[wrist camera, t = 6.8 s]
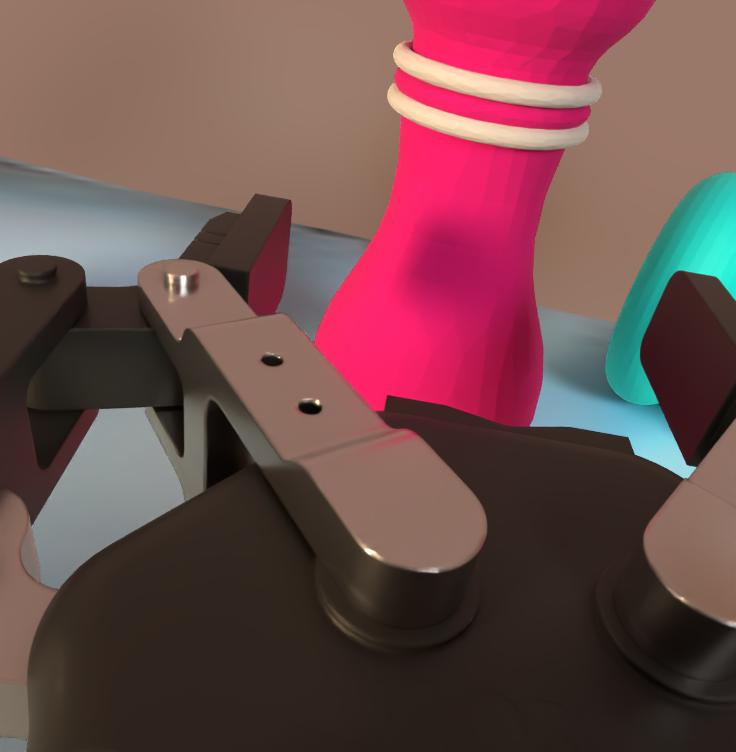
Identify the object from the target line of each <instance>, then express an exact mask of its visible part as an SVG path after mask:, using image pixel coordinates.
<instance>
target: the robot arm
mask: <svg viewBox="0 0 736 752" xmlns="http://www.w3.org/2000/svg"><path fill="white" fill-rule="evenodd" d="M291 214H292V203H291V200H288V199H282V198H277V197H271V196H266V195H260V194H255V195H254V196H253V198H252V199H251V201H250V202H249V203H248V205H247V207H246V208H245V209H244V211H243V212H242V214H235V213H230V212H226V213H224V214H221V215H219V216H217V217H214V218H212V219H210V220H209V221H208V222H207V223H206V225H205V226H204V227H203V229H202V230H201V232H199V234H198V235H197V236H196V237H195V239H194V241H192V242H191V244H190V245H189V246H188V248H187V249H186V250H185V251H184V253H183V254H182V255H181V256H180V258H179V259H170V260H162V261H158V262H154V263H152V264H149V265H147V266H145V267H144V268H143V269H141V271H140V272H139V274H138V286H130V287H86V278H85V271H84V269H83V267H82V266H80V265H79V264H78V263H76V262H74V261H72V260H70V259H66V258H63V257H58V256H50V255H31V256H23V257H18V258H13V259H10V260H7V261H4V262H2V263H0V737H8V738H17V739H27V740H28V743H27V752H736V300H735V299H734V298H733V297H732V295H731V294H730V293H729V291H728V290H727V289H726V288H725V286H724V285H723V284H722V282H721V281H720V280H719V279H718V278H717V277H715V276H710V275H705V274H699V273H693V272H688V271H682V270H679V271H676V272H675V273H674V274H673V275H672V276H671V278H670V279H669V281H668V283H667V285H666V287H665V290H664V292H663V294H662V296H661V298H660V301H659V303H658V305H657V307H656V309H655V312H654V314H653V316H652V318H651V320H650V323H649V325H648V327H647V329H646V331H645V334H644V336H643V339H642V342H641V347H640V362H641V365H642V367H643V369H644V372H645V374H646V376H647V378H648V380H649V383H650V385H651V387H652V389H653V391H654V394H655V396H656V398H657V400H658V402H659V405H660V407H661V409H662V411H663V414H664V416H665V418H666V420H667V422H668V425H669V427H670V429H671V431H672V433H673V436H674V438H675V440H676V442H677V444H678V447H679V449H680V451H681V453H682V455H683V458H684V460H685V462H686V464H687V465H689V466H694V467H697V468H696V469H695V470H694V472H693V473H692V474H691V476H690V477H689V478H688V479H687V478H685V479H683V478H682V477H680V476H679V475H677V474H675V473H673V472H672V471H670V470H668V469H666V468H664V467H662V466H660V465H658V464H656V463H654V462H652V461H649V460H647V459H645V458H642V457H640V456H637V455H635V454H634V451H633V449H632V446H631V443H630V440H629V438H628V437H623V436H618V435H612V434H606V433H601V432H595V431H589V430H584V429H578V428H572V427H514V426H507V425H503V424H500V423H497V422H494V421H491V420H488V419H485V418H483V417H480V416H477V415H474V414H471V413H468V412H465V411H462V410H459V409H456V408H453V407H450V406H447V405H442V404H436V403H431V402H425V401H419V400H414V399H408V398H402V397H396V396H391V395H387V397H386V402H385V407H384V411H374V410H373V409H372V408H371V406H370V405H369V404H368V403H367V402H366V401H365V400H364V399H363V398H362V396H361V395H360V394H359V393H358V392H357V391H356V390H355V389H354V388H353V387H352V385H351V384H350V383H349V382H348V381H347V380H346V379H345V378H344V377H343V375H342V374H341V373H340V372H339V371H338V370H337V369H336V368H335V367H334V366H333V364H332V363H331V362H330V361H329V360H328V359H327V358H326V357H325V356H324V354H323V353H322V352H321V351H320V350H319V349H318V348H317V347H316V346H315V345H314V343H313V342H312V341H311V340H310V339H309V338H308V337H307V336H306V335H305V333H304V332H303V331H302V330H301V329H300V328H299V327H298V326H297V325H296V324H295V322H294V321H293V320H292V319H291V318H290V317H289V316H288V315H286V314H285V313H276V314H275V312H276V309H277V307H278V305H279V302H280V300H281V297H282V294H283V290H284V285H285V279H286V272H287V261H288V249H289V238H290V226H291ZM135 407H145V413H146V416H147V418H148V420H149V422H150V424H151V426H152V428H153V429H154V431H155V433H156V435H157V437H158V439H159V441H160V443H161V445H162V447H163V449H164V451H165V453H166V455H167V456H168V458H169V460H170V462H171V464H172V466H173V468H174V470H175V472H176V474H177V476H178V478H179V480H180V483H181V486H182V490H183V494H184V499H185V502H184V503H182V504H181V505H179V506H177V507H175V508H174V509H172V510H170V511H168V512H167V513H165V514H163V515H161V516H160V517H158V518H156V519H154V520H153V521H151V522H149V523H147V524H146V525H144V526H142V527H140V528H139V529H137V530H135V531H133V532H132V533H130V534H128V535H126V536H125V537H123V538H121V539H119V540H118V541H116V542H114V543H112V544H111V545H109V546H108V547H106V548H104V549H103V550H101V551H100V552H98V553H97V554H95V555H94V556H92V557H91V558H90V559H89V560H87V561H86V562H85V563H84V564H83V565H81V566H80V567H79V568H78V569H77V570H76V571H75V572H74V573H73V574H72V575H71V576H70V577H69V578H68V579H67V581H66V582H65V583H64V584H63V585H62V586H61V588H60V589H59V590H58V589H54V588H51V587H48V586H45V585H43V584H42V583H40V577H41V573H40V566H39V561H38V556H37V551H36V546H35V541H34V537H33V532H32V527H31V526H32V525H33V523H34V521H35V520H36V518H37V516H38V514H39V513H40V511H41V509H42V508H43V506H44V504H45V503H46V501H47V499H48V498H49V496H50V494H51V493H52V491H53V489H54V487H55V486H56V484H57V482H58V481H59V479H60V477H61V476H62V474H63V472H64V471H65V469H66V467H67V466H68V464H69V462H70V461H71V459H72V457H73V455H74V454H75V452H76V450H77V449H78V447H79V445H80V444H81V442H82V440H83V439H84V437H85V435H86V434H87V432H88V430H89V428H90V427H91V425H92V423H93V422H94V420H95V418H96V417H97V415H98V412H99V409H110V408H135Z"/></svg>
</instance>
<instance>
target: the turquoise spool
mask: <svg viewBox="0 0 736 752" xmlns="http://www.w3.org/2000/svg"><path fill="white" fill-rule="evenodd" d="M679 270H682V271H688V272H693V273H699V274H705V275H710V276H715V277H717V278H718V279H719V280H720V281H721V282H722V284H723V285H724V286H725V288H726V289H727V290H728V291H729V293H730V294H731V295H732V297H733V298H734V299H735V300H736V172H725V173H719V174H715V175H713V176H711V177H708V178H706V179H704V180H702V181H701V182H699V183H698V184H697V185H696V186H695V187H693V188H692V189H691V190H690V191H689V192H688V193H687V194H686V195H685V197H684V198H683V199H682V200H681V201H680V203H679V204H678V206H677V207H676V209H675V210H674V211H673V213H672V214H671V216H670V217H669V219H668V221H667V222H666V224H665V225H664V227H663V229H662V230H661V232H660V234H659V236H658V237H657V239H656V241H655V242H654V244H653V246H652V248H651V250H650V252H649V253H648V255H647V258H646V259H645V261H644V263H643V265H642V267H641V269H640V271H639V273H638V275H637V277H636V279H635V281H634V283H633V285H632V288H631V290H630V292H629V294H628V296H627V299H626V301H625V303H624V305H623V308H622V310H621V313H620V315H619V317H618V320H617V322H616V325H615V328H614V330H613V334H612V337H611V340H610V343H609V346H608V350H607V355H606V363H605V371H606V376H607V380H608V382H609V384H610V386H611V388H612V389H613V390H614V392H615V393H616V394H617V395H619V396H620V397H621V398H622V399H624V400H626V401H628V402H630V403H634V404H638V405H653V404H659V402H658V400H657V398H656V396H655V394H654V391H653V389H652V387H651V385H650V383H649V380H648V378H647V376H646V374H645V372H644V369H643V367H642V365H641V362H640V347H641V342H642V339H643V336H644V334H645V331H646V329H647V327H648V325H649V323H650V320H651V318H652V316H653V314H654V312H655V309H656V307H657V305H658V303H659V301H660V298H661V296H662V294H663V292H664V290H665V287H666V285H667V283H668V281H669V279H670V278H671V276H672V275H673V274H674V273H675V272H676V271H679Z"/></svg>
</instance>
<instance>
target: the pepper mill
mask: <svg viewBox="0 0 736 752" xmlns="http://www.w3.org/2000/svg"><path fill="white" fill-rule="evenodd" d="M403 1H404V3H405V5H406V7H407V10H408V12H409V14H410V17H411V20H412V23H413V33H414V39H413V40H406V41H404V42H402V43H400V44H399V45H398V46H397V47H396V48H395V51H394V54H393V56H394V60H395V62H396V64H397V65H398V66H399V68H398V69H397V71H396V73H395V83H393V84H392V85H391V86H390V88H389V90H388V95H387V98H388V101H389V104H390V105H391V106H392V107H393V108H394V110H396V111H397V112H398V113H400V114H401V128H400V144H399V160H398V165H397V170H396V175H395V180H394V184H393V189H392V193H391V198H390V202H389V204H388V207H387V209H386V212H385V214H384V217H383V219H382V222H381V224H380V226H379V229H378V231H377V233H376V234H375V236H374V238H373V239H372V241H371V242H370V244H369V246H368V247H367V249H366V250H365V252H364V254H363V255H362V257H361V258H360V259H359V261H358V262H357V264H356V265H355V266H354V268H353V269H352V271H351V272H350V274H349V275H348V276H347V278H346V279H345V281H344V282H343V284H342V285H341V287H340V288H339V290H338V291H337V292H336V294H335V295H334V297H333V298H332V300H331V302H330V304H329V306H328V309H327V311H326V313H325V315H324V317H323V320H322V322H321V324H320V326H319V328H318V331H317V333H316V338H315V342H314V345H315V346H316V347H317V348H318V349H319V350H320V351H321V352H322V353H323V354H324V356H325V357H326V358H327V359H328V360H329V361H330V362H331V363H332V364H333V366H334V367H335V368H336V369H337V370H338V371H339V372H340V373H341V374H342V375H343V377H344V378H345V379H346V380H347V381H348V382H349V383H350V384H351V385H352V387H353V388H354V389H355V390H356V391H357V392H358V393H359V394H360V395H361V396H362V398H363V399H364V400H365V401H366V402H367V403H368V404H369V405H370V406H371V408H372V409H373V410H374V411H384V407H385V402H386V397H387V395H391V396H396V397H402V398H408V399H414V400H419V401H425V402H431V403H436V404H442V405H447V406H450V407H453V408H456V409H459V410H462V411H465V412H468V413H471V414H474V415H477V416H480V417H483V418H485V419H488V420H491V421H494V422H497V423H500V424H503V425H507V426H514V427H529V426H530V424H531V422H532V420H533V418H534V414H535V410H536V406H537V402H538V398H539V395H540V391H541V386H542V381H543V342H542V336H541V330H540V324H539V318H538V312H537V307H536V301H535V294H534V284H533V262H534V244H535V236H536V232H537V228H538V224H539V220H540V216H541V212H542V208H543V204H544V200H545V196H546V193H547V191H548V188H549V186H550V184H551V181H552V179H553V176H554V174H555V171H556V169H557V167H558V164H559V162H560V159H561V157H562V155H563V152H564V150H565V148H569V147H573V146H576V145H578V144H580V143H582V142H583V141H584V140H585V139H586V137H587V136H588V132H589V126H588V123H587V121H586V120H587V118H588V117H589V115H590V112H591V110H590V106H589V105H591V104H593V103H595V102H596V101H597V100H598V99H599V98H600V96H601V95H602V87H601V84H600V82H599V81H598V80H597V79H596V78H595V77H594V76H592V75H590V74H589V73H590V71H591V69H592V68H593V66H594V65H595V63H596V62H597V60H598V59H599V58H600V57H601V56H602V55H603V54H604V53H605V52H606V51H607V50H608V49H609V48H610V47H611V46H613V45H614V44H615V43H617V42H618V41H619V40H620V39H621V38H623V37H624V36H626V34H628V33H629V32H630V31H631V30H632V29H633V28H634V27H635V26H636V25H637V24H638V23H639V22H640V21H641V20H642V19H643V18H644V17H645V15H646V14H647V13H648V11H649V9H650V8H651V7H652V5H653V4H654V2H655V1H656V0H403Z"/></svg>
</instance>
